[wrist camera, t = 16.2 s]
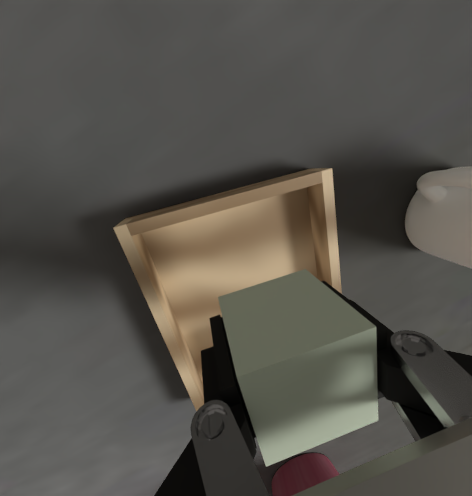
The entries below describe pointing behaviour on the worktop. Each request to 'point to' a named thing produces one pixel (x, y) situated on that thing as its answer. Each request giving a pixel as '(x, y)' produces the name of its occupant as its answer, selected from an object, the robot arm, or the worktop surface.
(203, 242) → the oak tray
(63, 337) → the worktop surface
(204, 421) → the robot arm
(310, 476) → the plant pot
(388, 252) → the worktop surface
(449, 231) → the cup
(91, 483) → the worktop surface
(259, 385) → the sage block
